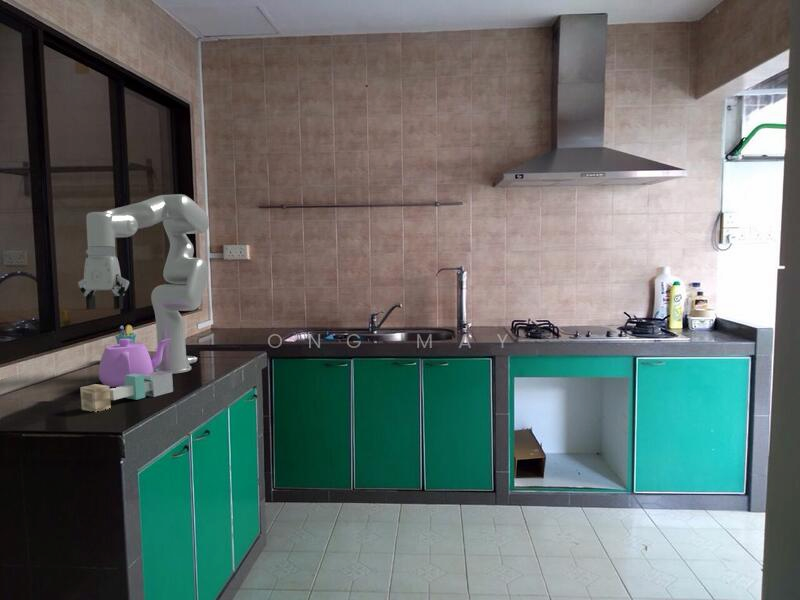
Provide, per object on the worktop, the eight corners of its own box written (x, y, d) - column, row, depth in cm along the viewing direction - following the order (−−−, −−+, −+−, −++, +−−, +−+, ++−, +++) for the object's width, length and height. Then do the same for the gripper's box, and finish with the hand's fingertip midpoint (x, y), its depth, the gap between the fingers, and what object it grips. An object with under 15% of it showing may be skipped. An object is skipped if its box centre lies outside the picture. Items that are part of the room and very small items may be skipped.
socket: (96, 405, 173) (95, 384, 172) (110, 408, 169) (109, 386, 169) (81, 409, 169) (80, 387, 168) (95, 412, 166) (94, 389, 165)
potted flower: (133, 363, 238) (130, 325, 237) (111, 364, 236) (109, 326, 235) (140, 357, 252) (138, 321, 250) (120, 358, 250) (118, 322, 249)
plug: (160, 389, 190) (158, 367, 190) (170, 390, 188) (169, 369, 187) (105, 403, 174) (104, 379, 174) (116, 404, 172) (114, 381, 171)
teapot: (98, 394, 187) (94, 346, 185) (100, 381, 206) (97, 337, 204) (176, 385, 196) (173, 339, 195) (171, 374, 215) (169, 332, 214)
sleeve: (160, 389, 191) (159, 371, 190) (173, 391, 188) (172, 372, 187) (140, 394, 185) (139, 375, 184) (153, 396, 182) (152, 377, 181)
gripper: (68, 253, 183) (71, 310, 184) (118, 252, 179) (121, 309, 180) (86, 253, 190) (89, 308, 191) (134, 252, 186) (137, 308, 188)
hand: (104, 309), depth 186 cm, fingers open, 9 cm apart
